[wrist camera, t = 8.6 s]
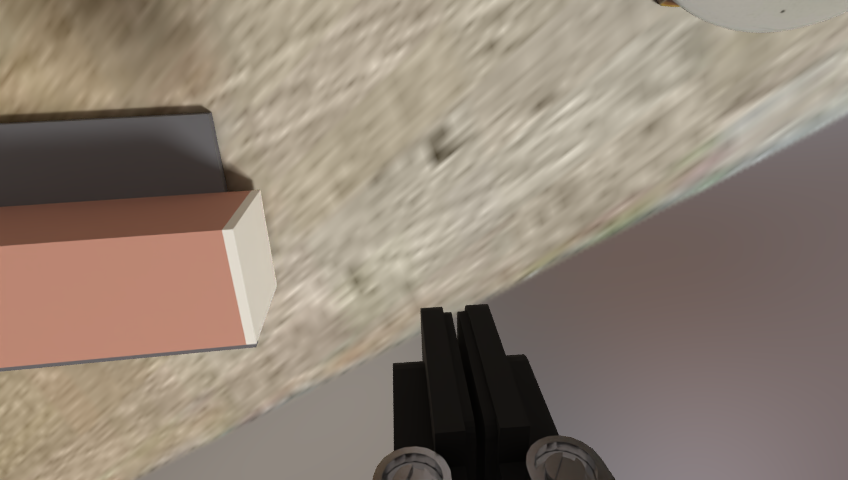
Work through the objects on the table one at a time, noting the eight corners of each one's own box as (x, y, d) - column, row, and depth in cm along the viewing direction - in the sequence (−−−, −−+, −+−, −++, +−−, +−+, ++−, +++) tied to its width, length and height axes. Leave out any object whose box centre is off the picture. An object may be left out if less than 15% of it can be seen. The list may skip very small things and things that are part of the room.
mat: (211, 112, 21) (207, 113, 21) (257, 341, 26) (256, 347, 25) (-194, 133, 20) (-207, 135, 19) (-67, 372, 24) (-75, 378, 24)
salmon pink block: (232, 229, 18) (-128, 255, 16) (256, 343, 19) (-65, 373, 18) (260, 189, 22) (-21, 208, 21) (277, 285, 24) (20, 307, 23)
